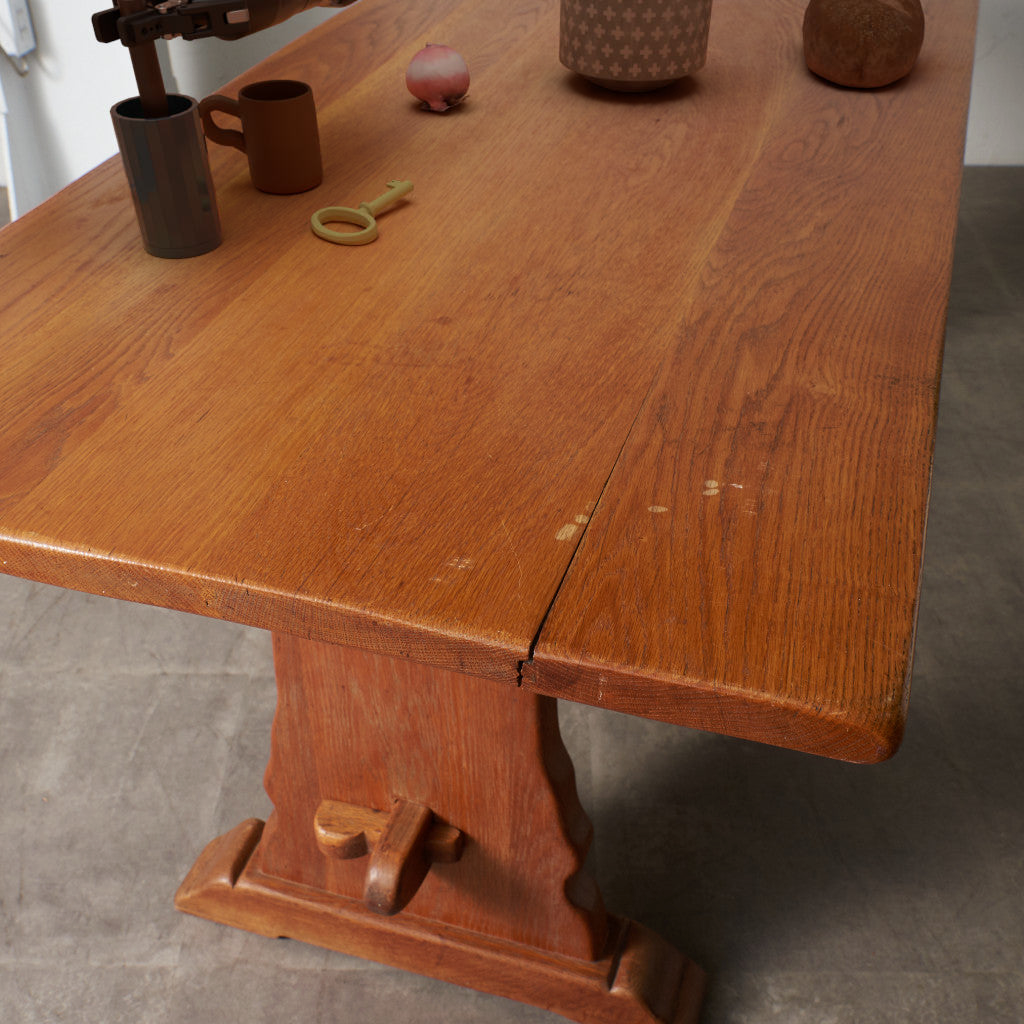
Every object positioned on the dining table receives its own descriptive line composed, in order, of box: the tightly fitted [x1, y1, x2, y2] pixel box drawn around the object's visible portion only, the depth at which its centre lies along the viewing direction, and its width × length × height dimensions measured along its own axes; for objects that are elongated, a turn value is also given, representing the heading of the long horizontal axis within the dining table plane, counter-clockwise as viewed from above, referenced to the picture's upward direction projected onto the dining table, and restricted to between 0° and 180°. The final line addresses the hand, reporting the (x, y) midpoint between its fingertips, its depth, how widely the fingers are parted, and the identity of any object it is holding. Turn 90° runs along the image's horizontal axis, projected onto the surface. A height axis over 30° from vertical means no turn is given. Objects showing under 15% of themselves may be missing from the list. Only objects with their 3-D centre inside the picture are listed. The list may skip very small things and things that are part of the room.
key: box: [310, 179, 415, 246], centre depth 99 cm, size 7×12×2 cm, turn 161°
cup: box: [109, 92, 225, 259], centre depth 92 cm, size 7×7×12 cm
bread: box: [801, 0, 926, 89], centre depth 137 cm, size 16×29×11 cm, turn 167°
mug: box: [198, 79, 324, 195], centre depth 104 cm, size 12×8×9 cm, turn 97°
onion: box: [405, 42, 471, 112], centre depth 124 cm, size 8×8×7 cm
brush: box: [117, 0, 171, 119], centre depth 88 cm, size 5×5×18 cm
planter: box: [558, 0, 714, 93], centre depth 127 cm, size 19×19×18 cm
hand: (110, 31), depth 82 cm, fingers closed on brush
